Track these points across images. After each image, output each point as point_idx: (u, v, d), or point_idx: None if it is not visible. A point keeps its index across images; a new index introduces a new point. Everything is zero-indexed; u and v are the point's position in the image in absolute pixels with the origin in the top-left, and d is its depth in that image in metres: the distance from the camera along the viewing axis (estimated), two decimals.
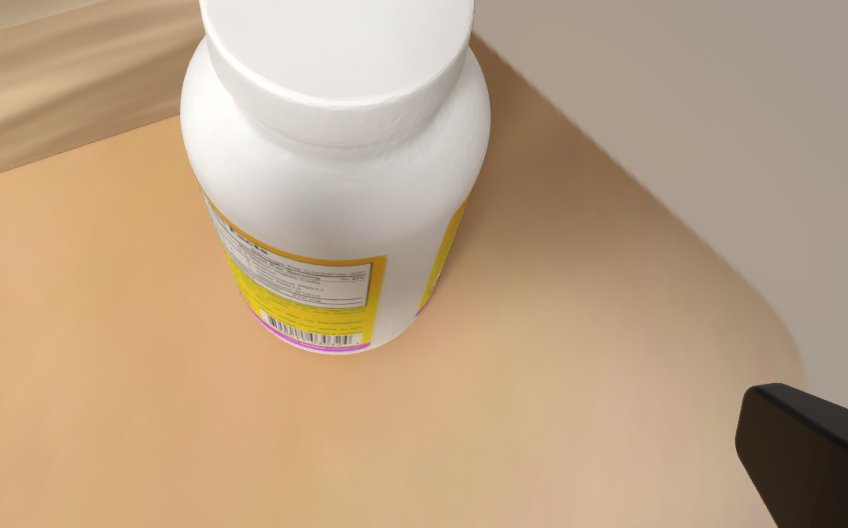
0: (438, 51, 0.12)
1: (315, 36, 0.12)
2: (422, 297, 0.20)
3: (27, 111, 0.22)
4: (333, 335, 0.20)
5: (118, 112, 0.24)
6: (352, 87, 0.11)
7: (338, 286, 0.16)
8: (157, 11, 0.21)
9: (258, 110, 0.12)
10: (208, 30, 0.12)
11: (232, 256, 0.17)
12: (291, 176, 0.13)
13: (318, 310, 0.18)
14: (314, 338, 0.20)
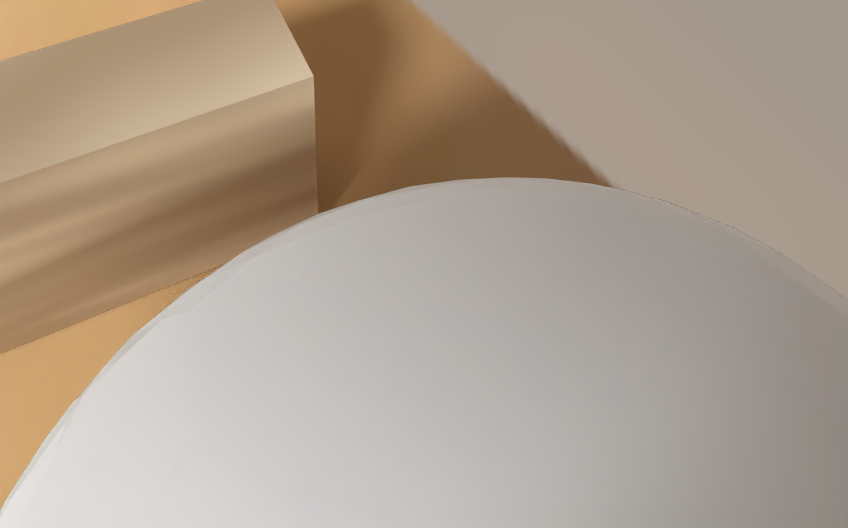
0: None
1: None
2: None
3: None
4: None
5: (12, 325, 0.14)
6: None
7: None
8: (53, 199, 0.11)
9: None
10: None
11: None
12: None
13: None
14: None
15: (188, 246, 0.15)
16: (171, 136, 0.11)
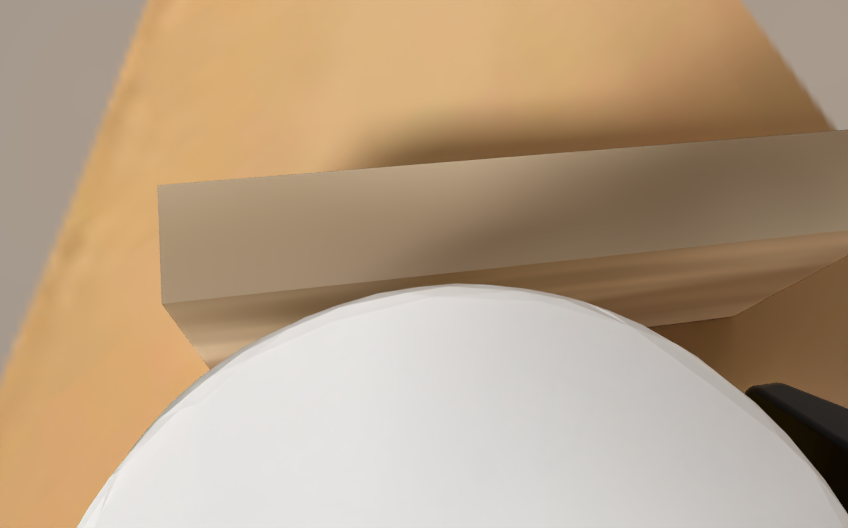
0: None
1: None
2: None
3: None
4: None
5: None
6: None
7: None
8: (662, 265, 0.13)
9: None
10: None
11: None
12: None
13: None
14: None
15: (657, 311, 0.17)
16: (779, 242, 0.13)
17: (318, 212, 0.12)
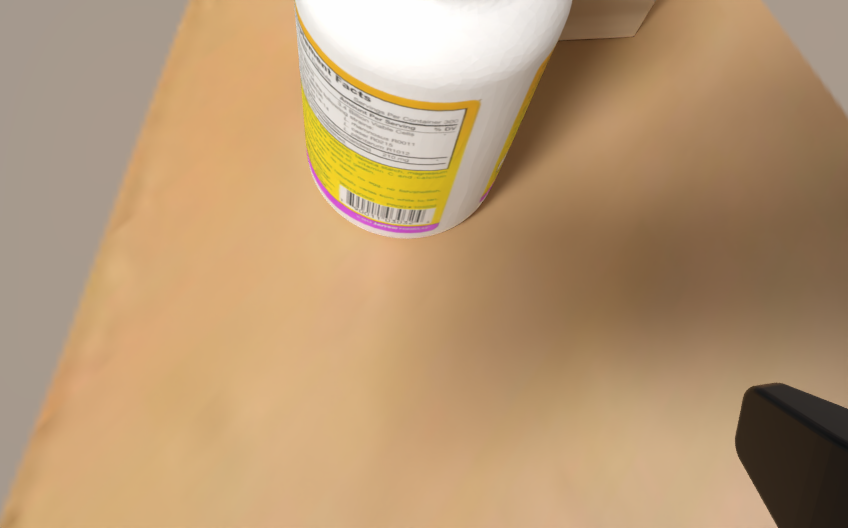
0: None
1: None
2: (491, 175, 0.22)
3: None
4: (409, 208, 0.21)
5: None
6: None
7: (430, 139, 0.18)
8: None
9: None
10: None
11: (325, 120, 0.19)
12: (404, 14, 0.15)
13: (403, 173, 0.19)
14: (390, 214, 0.22)
15: (578, 12, 0.27)
16: None
17: None
